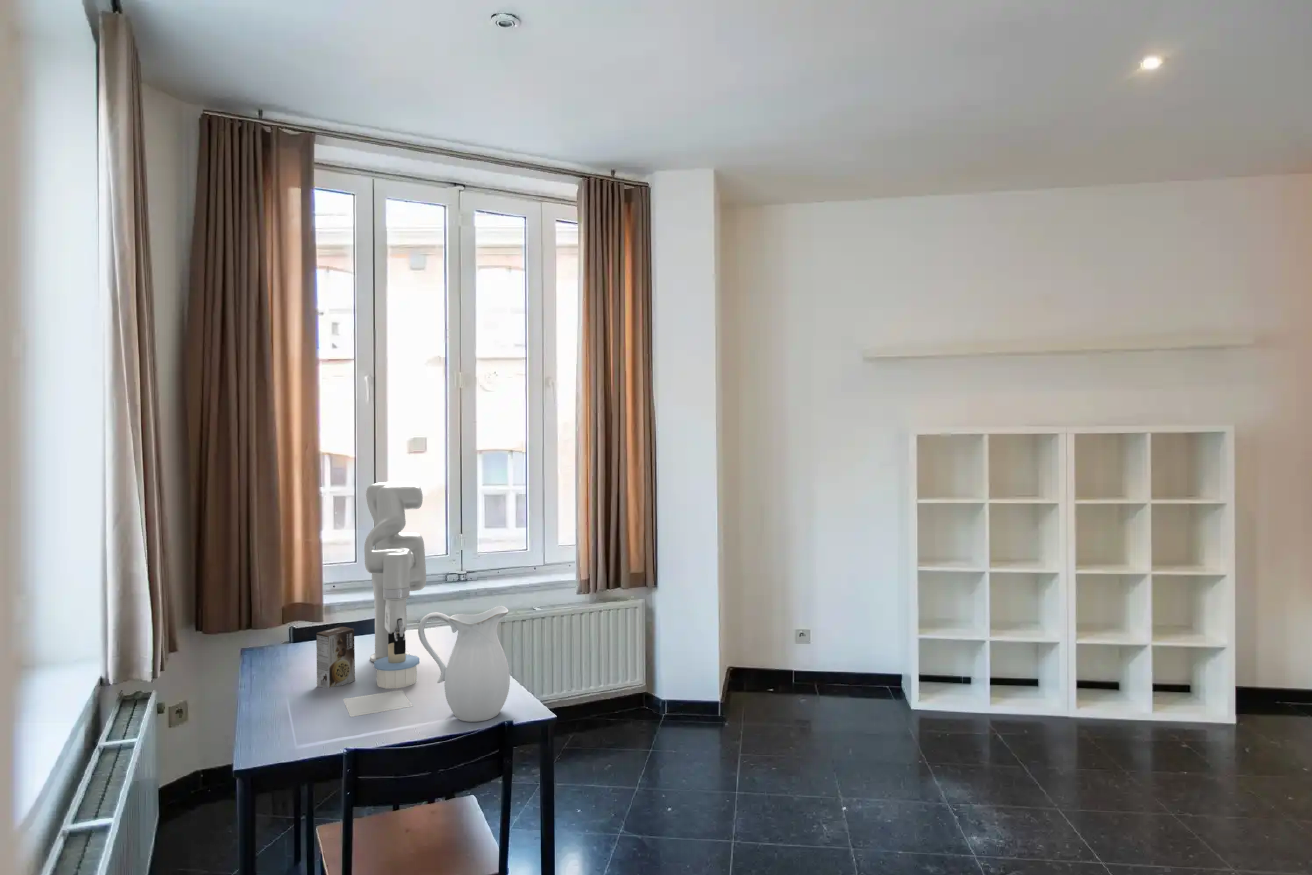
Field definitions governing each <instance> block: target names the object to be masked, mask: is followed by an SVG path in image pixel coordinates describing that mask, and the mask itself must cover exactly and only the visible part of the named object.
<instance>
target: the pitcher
mask: <svg viewBox="0 0 1312 875" xmlns="http://www.w3.org/2000/svg"><path fill="white" fill-rule="evenodd" d="M507 614H509V609H508V608H507V607H506V606H504V605H497V606H495V607H492V608H490V609H488V610H486V611H482V612H479V613H475V614H471V613H470V614H469V613H468V614H467V613H457V614H453V615H450V616H449V615H447V614H445V613H442V612H430V613H428V614H426V615H425V616H423V617H422V618H421V620H420V622H419V624H418V628H417V634H418V638H419V641H420V642H421V644H422V646H423V647H424V649H425V650H426V651H427V652H428V653H429V655H430V656H431V657H432V659H433V660H434V661H435V662H436V665H437V666H438V667H439V671H440V675H439V678H438V680H437V682H436V683H437V684H440V683H443V682H444V693H445V699H446V702H447V705H448V706H449V709H450V710H451V712H452V714H453V715H454V717H455V718H456V719H458V720H460V721H462V722H472V723H474V722H476V723H478V722H484V721H487V720H488V721H489V720H492V719H494V718H495V717H497V716H498V715H499V714H500V712H501V710H502V709H503V708H504V705H505V703H506V701H507V698H508V695H509V692H510V691H509V690H510V685H511V683H510V680H511V674H510V668H509V663H508V659H507V657H506V653H505V651H504V649H503V646H502V644H501V641H500V639H499V636H498V625H499V623H500V622H501V621H502V619H503V618H504V617H505V616H506V615H507ZM436 619H437V620H441V621H443V622H445V623H446V624H447V625H449V626H450V628H451V632H452V633H453V634H456V632H457V634H456V635H457V636H456V641H455V643H454V646H453V648H452V651H451V653H450V656H449V658H448V662H447V665H446V664H445V663H444V661H443V660H442V659H441V658H440V657H439V656H438V655H439V654H438V653H436V652H435V650H434V649H433V647H432V646H431V644H430V643H429V642H428V639H427V637H426V634H425V627H426V625H427V623H428V622H429V621H431V620H436Z"/></svg>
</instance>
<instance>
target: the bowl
mask: <svg viewBox="0 0 1312 875" xmlns="http://www.w3.org/2000/svg"><path fill="white" fill-rule="evenodd" d="M417 667H418V665H416V666H414V667H411V668H408V669H403V670H394V671H384V670H378V669H376V685H377V687H379V688H382V689H399V688H406V687H409V686H411V685H412V686H413V685H415V683H416V682H417V681H418V680H417V679H418V678H417V677H418V676H417V675H418V674H417V672H418V670H417Z"/></svg>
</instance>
